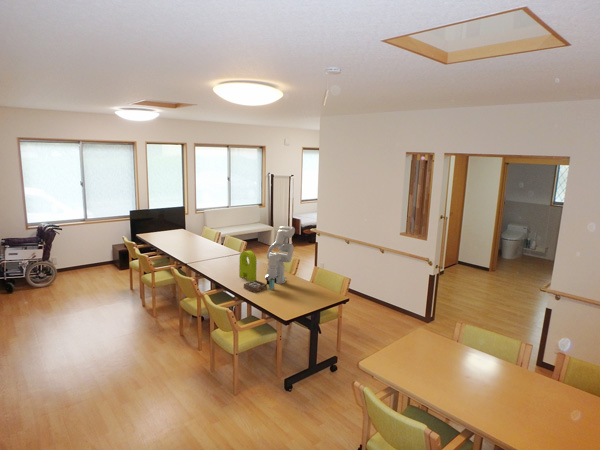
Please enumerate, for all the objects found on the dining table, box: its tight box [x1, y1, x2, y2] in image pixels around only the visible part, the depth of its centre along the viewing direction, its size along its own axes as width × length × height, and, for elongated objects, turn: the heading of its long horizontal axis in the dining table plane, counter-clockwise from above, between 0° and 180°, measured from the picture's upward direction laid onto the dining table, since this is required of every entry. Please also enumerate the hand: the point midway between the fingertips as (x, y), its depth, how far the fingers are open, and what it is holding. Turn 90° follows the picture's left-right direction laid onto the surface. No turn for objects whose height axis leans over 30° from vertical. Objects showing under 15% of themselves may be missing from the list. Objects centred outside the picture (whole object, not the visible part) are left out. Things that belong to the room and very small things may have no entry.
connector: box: [268, 278, 275, 291], centre depth 371 cm, size 4×4×11 cm
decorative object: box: [238, 250, 258, 282], centre depth 397 cm, size 20×7×30 cm, turn 47°
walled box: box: [243, 279, 268, 293], centre depth 371 cm, size 16×16×4 cm
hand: (271, 283), depth 370 cm, fingers open, 9 cm apart
